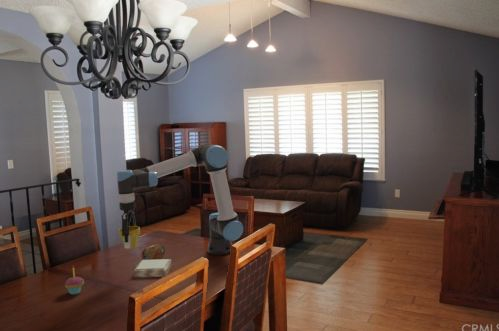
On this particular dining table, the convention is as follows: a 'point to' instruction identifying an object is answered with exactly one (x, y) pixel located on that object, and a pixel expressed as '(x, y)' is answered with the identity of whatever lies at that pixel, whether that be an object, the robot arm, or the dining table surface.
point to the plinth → (153, 268)
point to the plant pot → (131, 236)
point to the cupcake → (74, 284)
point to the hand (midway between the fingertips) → (130, 244)
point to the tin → (153, 252)
